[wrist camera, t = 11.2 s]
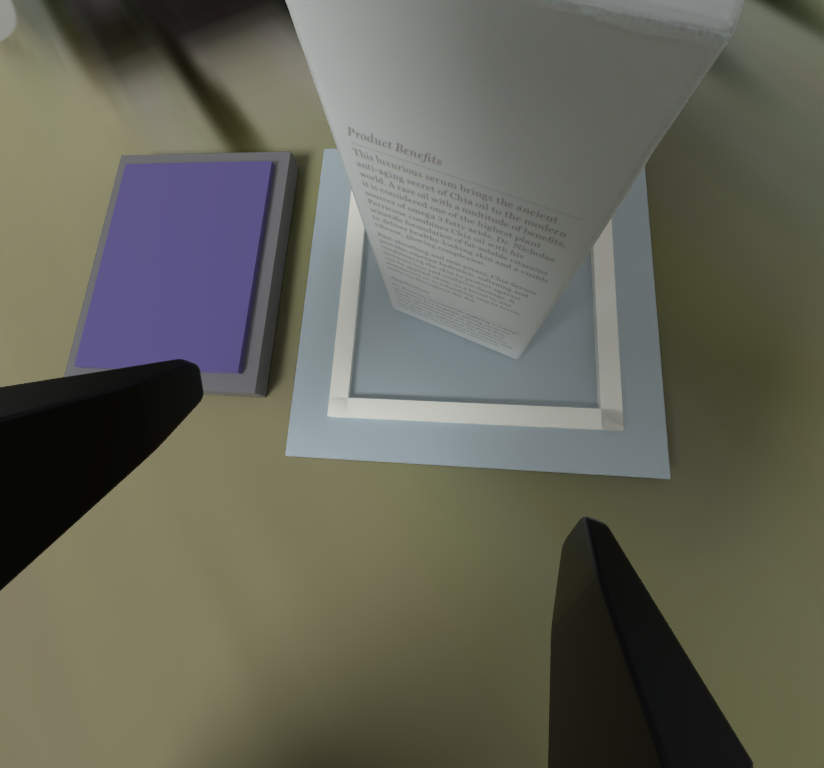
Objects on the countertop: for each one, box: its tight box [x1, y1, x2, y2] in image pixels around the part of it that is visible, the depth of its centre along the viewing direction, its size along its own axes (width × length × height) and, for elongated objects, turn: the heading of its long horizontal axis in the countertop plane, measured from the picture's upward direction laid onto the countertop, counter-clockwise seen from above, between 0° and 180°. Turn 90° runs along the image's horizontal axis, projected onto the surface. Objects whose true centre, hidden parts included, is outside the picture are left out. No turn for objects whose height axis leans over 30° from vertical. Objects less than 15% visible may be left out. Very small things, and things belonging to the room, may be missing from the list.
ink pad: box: [64, 152, 299, 397], centre depth 18 cm, size 12×9×1 cm
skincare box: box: [285, 0, 745, 359], centre depth 10 cm, size 6×4×12 cm
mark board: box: [285, 149, 671, 479], centre depth 16 cm, size 15×15×1 cm
